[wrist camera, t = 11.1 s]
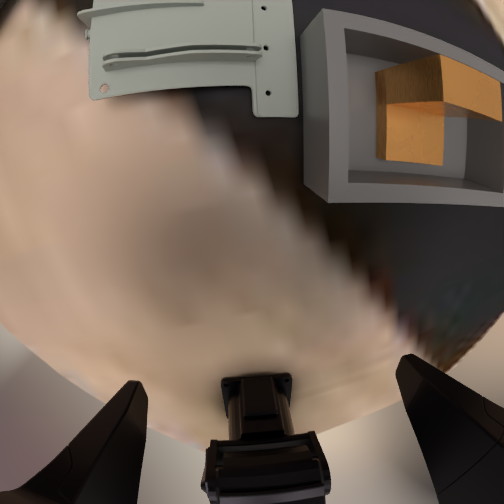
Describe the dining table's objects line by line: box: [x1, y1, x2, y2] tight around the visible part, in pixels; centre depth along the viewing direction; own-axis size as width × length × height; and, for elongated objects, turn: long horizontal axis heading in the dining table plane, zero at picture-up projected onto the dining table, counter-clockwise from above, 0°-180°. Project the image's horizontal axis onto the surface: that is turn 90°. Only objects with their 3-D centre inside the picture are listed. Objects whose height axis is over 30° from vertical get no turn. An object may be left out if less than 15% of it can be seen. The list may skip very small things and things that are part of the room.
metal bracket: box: [77, 0, 299, 117], centre depth 13 cm, size 14×6×15 cm
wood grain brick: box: [375, 54, 502, 166], centre depth 13 cm, size 6×5×7 cm
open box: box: [300, 9, 504, 207], centre depth 14 cm, size 10×15×5 cm, turn 92°
